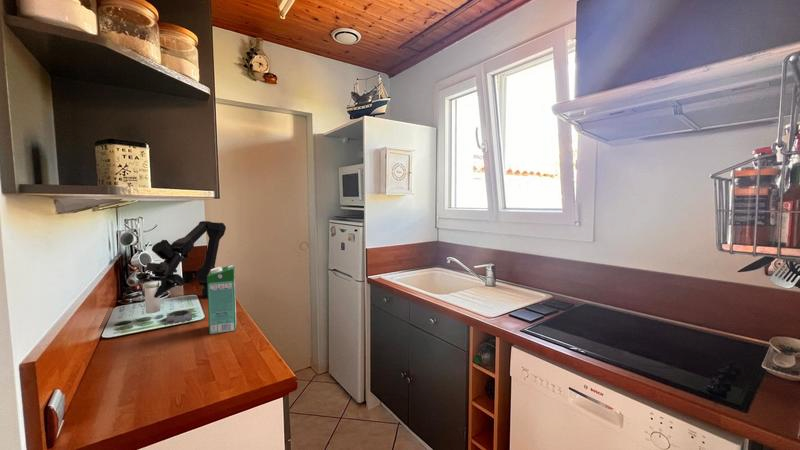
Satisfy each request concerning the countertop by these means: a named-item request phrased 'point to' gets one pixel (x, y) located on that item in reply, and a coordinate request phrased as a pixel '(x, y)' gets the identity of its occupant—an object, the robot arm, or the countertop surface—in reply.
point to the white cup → (151, 297)
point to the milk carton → (221, 299)
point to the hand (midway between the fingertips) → (149, 296)
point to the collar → (179, 316)
